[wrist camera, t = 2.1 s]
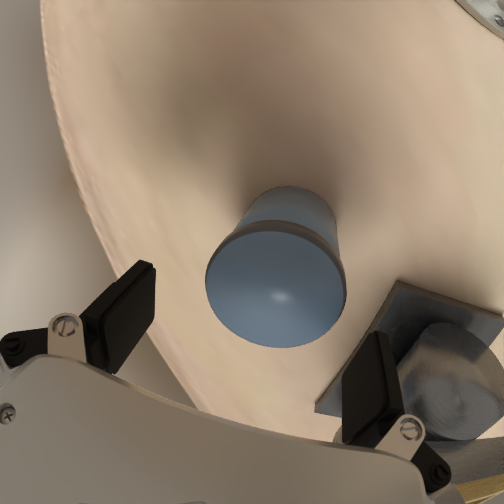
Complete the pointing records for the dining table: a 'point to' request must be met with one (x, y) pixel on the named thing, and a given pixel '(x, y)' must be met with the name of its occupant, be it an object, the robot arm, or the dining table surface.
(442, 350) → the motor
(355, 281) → the dining table surface
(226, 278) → the blue rounded cylinder
